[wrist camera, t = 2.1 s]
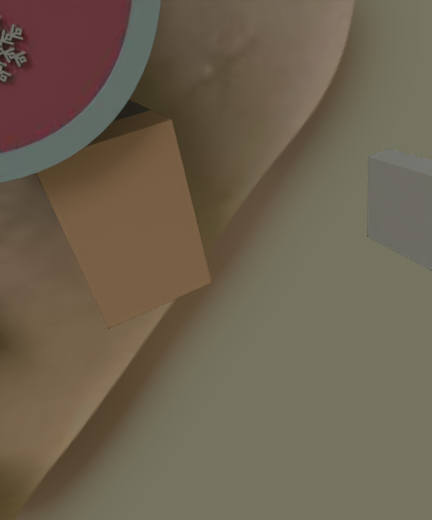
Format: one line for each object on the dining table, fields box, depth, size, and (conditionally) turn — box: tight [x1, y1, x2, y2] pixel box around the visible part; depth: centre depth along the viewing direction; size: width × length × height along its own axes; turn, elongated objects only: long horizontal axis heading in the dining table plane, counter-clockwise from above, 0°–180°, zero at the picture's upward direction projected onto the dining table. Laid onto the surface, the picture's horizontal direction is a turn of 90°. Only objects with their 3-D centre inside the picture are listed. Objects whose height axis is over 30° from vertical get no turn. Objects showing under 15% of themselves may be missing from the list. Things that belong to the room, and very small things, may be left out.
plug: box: [37, 100, 212, 329], centre depth 16 cm, size 6×4×9 cm, turn 13°
